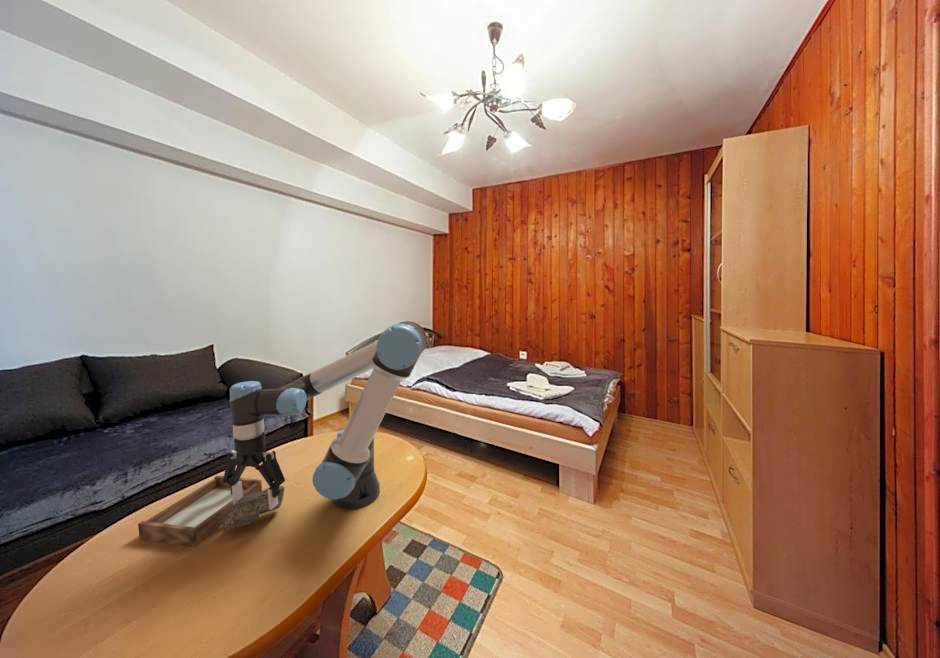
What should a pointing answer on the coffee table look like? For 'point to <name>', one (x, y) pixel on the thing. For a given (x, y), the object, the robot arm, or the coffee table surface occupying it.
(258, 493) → the rock
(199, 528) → the wooden tray
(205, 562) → the coffee table surface
